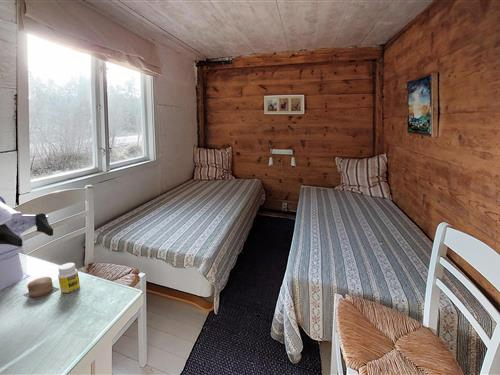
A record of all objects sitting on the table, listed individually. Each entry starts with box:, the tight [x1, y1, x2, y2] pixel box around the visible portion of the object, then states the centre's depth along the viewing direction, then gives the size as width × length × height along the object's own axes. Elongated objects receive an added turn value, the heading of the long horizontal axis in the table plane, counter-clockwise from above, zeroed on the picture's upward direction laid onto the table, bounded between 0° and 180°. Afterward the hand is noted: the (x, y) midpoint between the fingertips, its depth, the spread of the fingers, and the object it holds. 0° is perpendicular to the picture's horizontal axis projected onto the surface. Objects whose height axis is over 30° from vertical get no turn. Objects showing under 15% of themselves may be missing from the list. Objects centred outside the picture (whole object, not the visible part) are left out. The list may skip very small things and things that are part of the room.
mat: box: [23, 286, 60, 302], centre depth 78 cm, size 7×6×1 cm
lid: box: [26, 276, 54, 299], centre depth 77 cm, size 6×6×3 cm
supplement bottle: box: [57, 262, 81, 296], centre depth 78 cm, size 5×5×8 cm
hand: (37, 237), depth 72 cm, fingers open, 7 cm apart
